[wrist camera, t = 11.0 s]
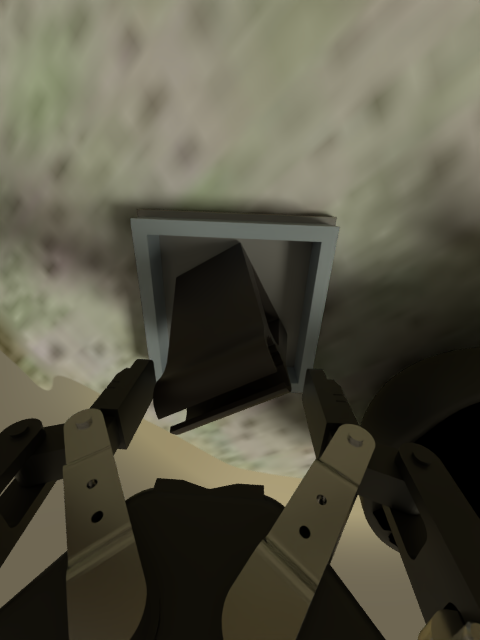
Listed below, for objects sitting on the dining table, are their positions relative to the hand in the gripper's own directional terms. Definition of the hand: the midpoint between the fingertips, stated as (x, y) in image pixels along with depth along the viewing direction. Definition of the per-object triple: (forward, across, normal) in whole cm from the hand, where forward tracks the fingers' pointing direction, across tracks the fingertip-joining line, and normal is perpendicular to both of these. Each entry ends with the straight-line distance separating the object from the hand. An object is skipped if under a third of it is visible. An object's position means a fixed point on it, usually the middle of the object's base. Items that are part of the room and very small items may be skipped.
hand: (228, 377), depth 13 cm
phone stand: (+10, 0, 0) cm, 10 cm away
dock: (+10, 0, 0) cm, 11 cm away
